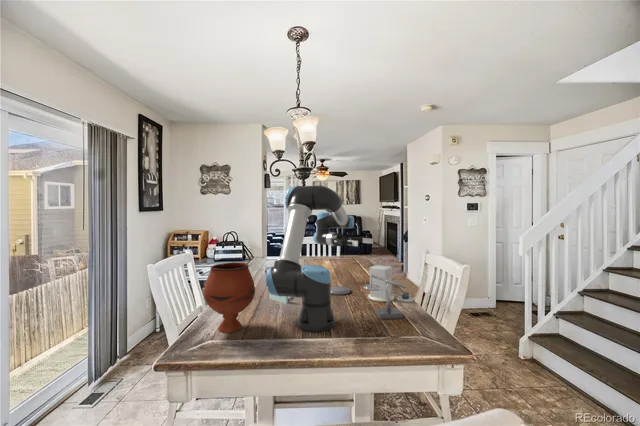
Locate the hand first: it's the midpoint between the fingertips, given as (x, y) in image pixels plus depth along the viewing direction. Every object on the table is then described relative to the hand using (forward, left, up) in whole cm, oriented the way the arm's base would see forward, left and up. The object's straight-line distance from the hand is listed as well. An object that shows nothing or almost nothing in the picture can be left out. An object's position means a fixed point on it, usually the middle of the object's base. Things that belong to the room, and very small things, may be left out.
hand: (365, 242), depth 163 cm
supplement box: (+6, -7, -27) cm, 29 cm away
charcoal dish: (-14, +7, -28) cm, 32 cm away
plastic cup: (-50, +18, -28) cm, 60 cm away
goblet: (-64, -37, -28) cm, 79 cm away
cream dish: (+6, -7, -28) cm, 30 cm away
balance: (+2, -31, -28) cm, 42 cm away
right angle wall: (-42, -1, -29) cm, 51 cm away
